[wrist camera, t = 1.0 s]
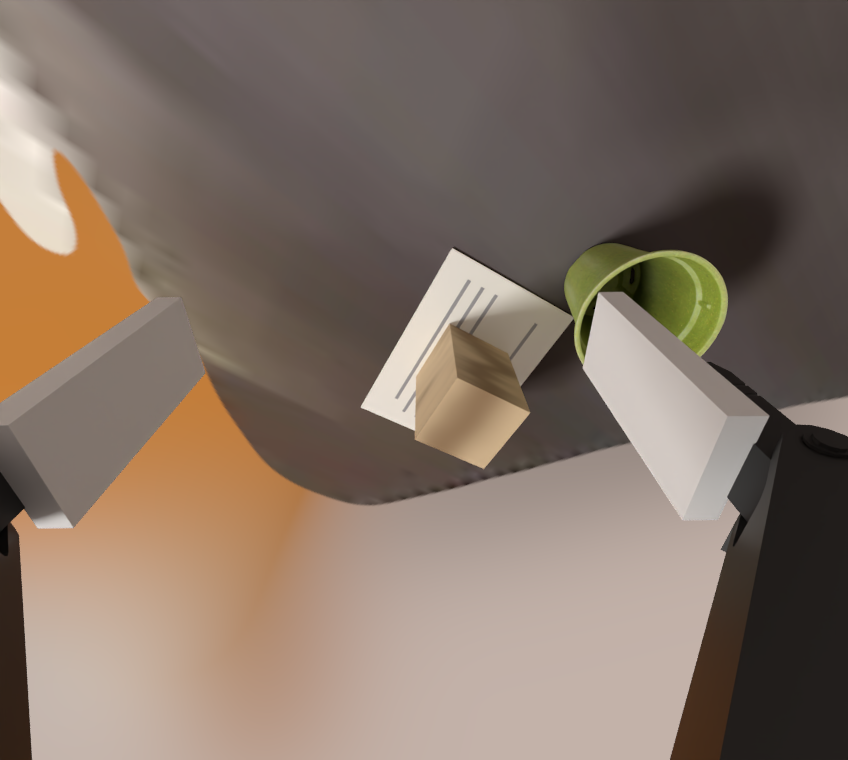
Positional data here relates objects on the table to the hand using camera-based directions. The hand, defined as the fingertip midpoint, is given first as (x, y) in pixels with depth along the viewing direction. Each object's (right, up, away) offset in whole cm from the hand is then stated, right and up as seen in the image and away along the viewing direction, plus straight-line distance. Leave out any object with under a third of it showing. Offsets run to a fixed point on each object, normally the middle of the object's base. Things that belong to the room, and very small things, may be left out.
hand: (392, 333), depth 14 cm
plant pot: (+15, +7, +21) cm, 27 cm away
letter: (+4, 0, +25) cm, 25 cm away
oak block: (+4, 0, +25) cm, 25 cm away
